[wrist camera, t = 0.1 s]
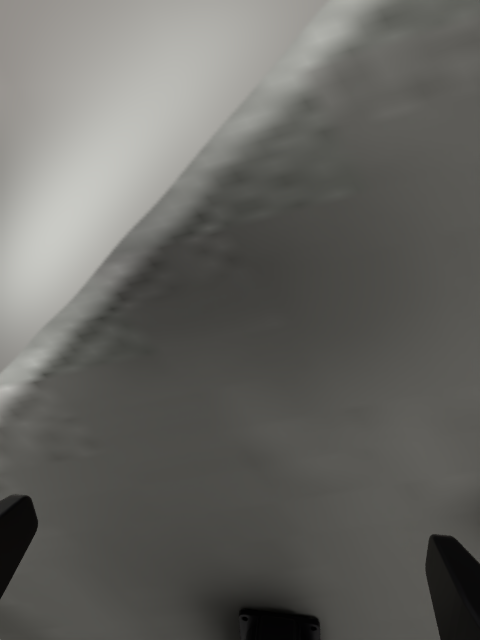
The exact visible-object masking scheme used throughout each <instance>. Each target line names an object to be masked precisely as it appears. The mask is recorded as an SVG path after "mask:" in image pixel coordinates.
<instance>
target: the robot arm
mask: <svg viewBox="0 0 480 640" xmlns="http://www.w3.org/2000/svg"><path fill="white" fill-rule="evenodd" d="M37 527H38V519H37V516H36V512H35V509H34V506H33V502H32V499H31V498H30V497H29V496H27V495H17V494H15V495H10V496H8V497H7V498H5V499H3V500H1V501H0V599H1V597H2V595H3V593H4V591H5V590H6V588H7V586H8V584H9V582H10V580H11V578H12V576H13V575H14V573H15V571H16V569H17V567H18V565H19V563H20V561H21V560H22V558H23V556H24V554H25V552H26V550H27V548H28V546H29V545H30V543H31V541H32V539H33V537H34V535H35V533H36V531H37ZM426 576H427V581H428V586H429V590H430V595H431V599H432V603H433V608H434V612H435V617H436V621H437V626H438V630H439V635H440V639H441V640H480V563H479V562H478V561H477V560H476V559H475V558H474V557H473V556H472V555H471V554H470V553H469V552H468V551H467V550H466V549H465V548H464V547H463V546H462V545H461V544H460V543H459V542H458V540H456V539H455V538H454V537H452V536H447V535H437V534H433V535H431V536H430V538H429V543H428V550H427V557H426ZM239 626H240V638H241V640H320V623H319V621H318V620H316V619H311V618H304V617H297V616H290V615H282V614H275V613H268V612H261V611H253V610H246V609H243V610H241V611H240V614H239Z"/></svg>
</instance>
